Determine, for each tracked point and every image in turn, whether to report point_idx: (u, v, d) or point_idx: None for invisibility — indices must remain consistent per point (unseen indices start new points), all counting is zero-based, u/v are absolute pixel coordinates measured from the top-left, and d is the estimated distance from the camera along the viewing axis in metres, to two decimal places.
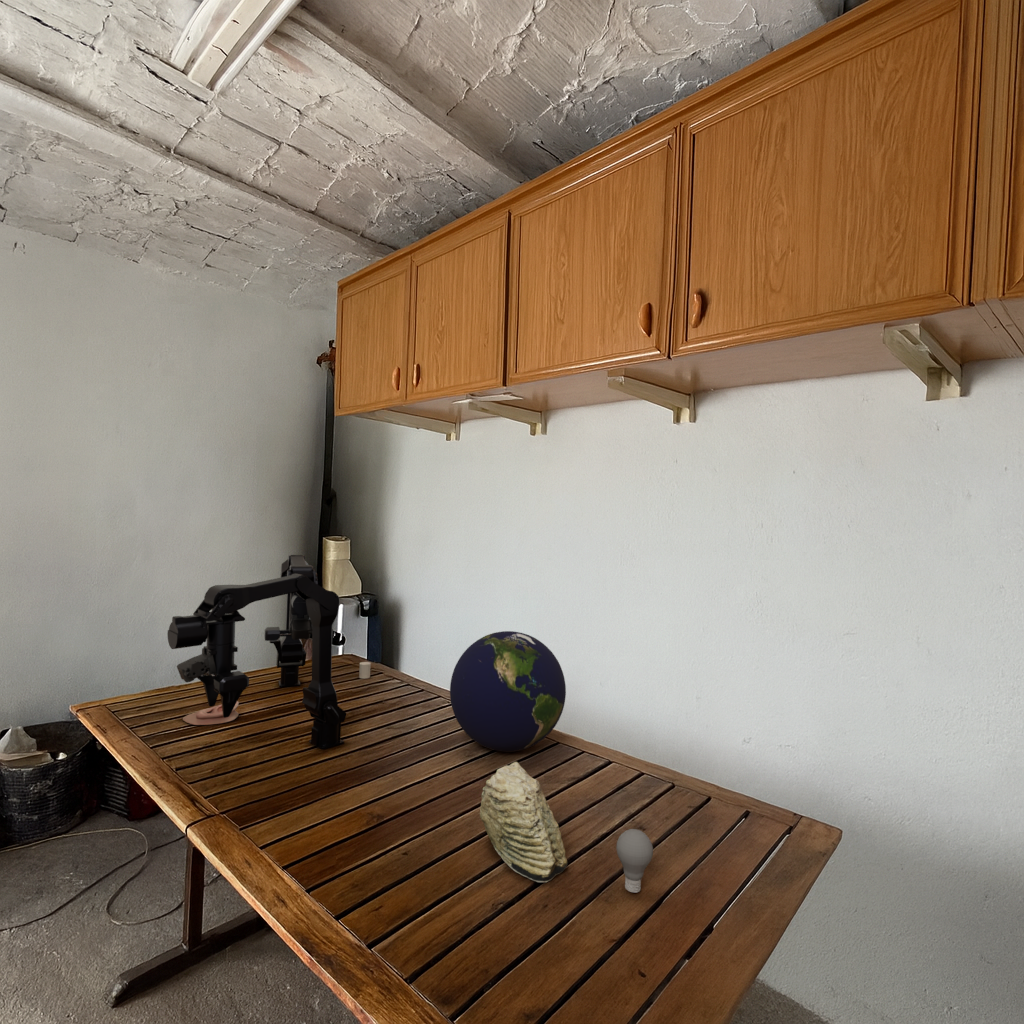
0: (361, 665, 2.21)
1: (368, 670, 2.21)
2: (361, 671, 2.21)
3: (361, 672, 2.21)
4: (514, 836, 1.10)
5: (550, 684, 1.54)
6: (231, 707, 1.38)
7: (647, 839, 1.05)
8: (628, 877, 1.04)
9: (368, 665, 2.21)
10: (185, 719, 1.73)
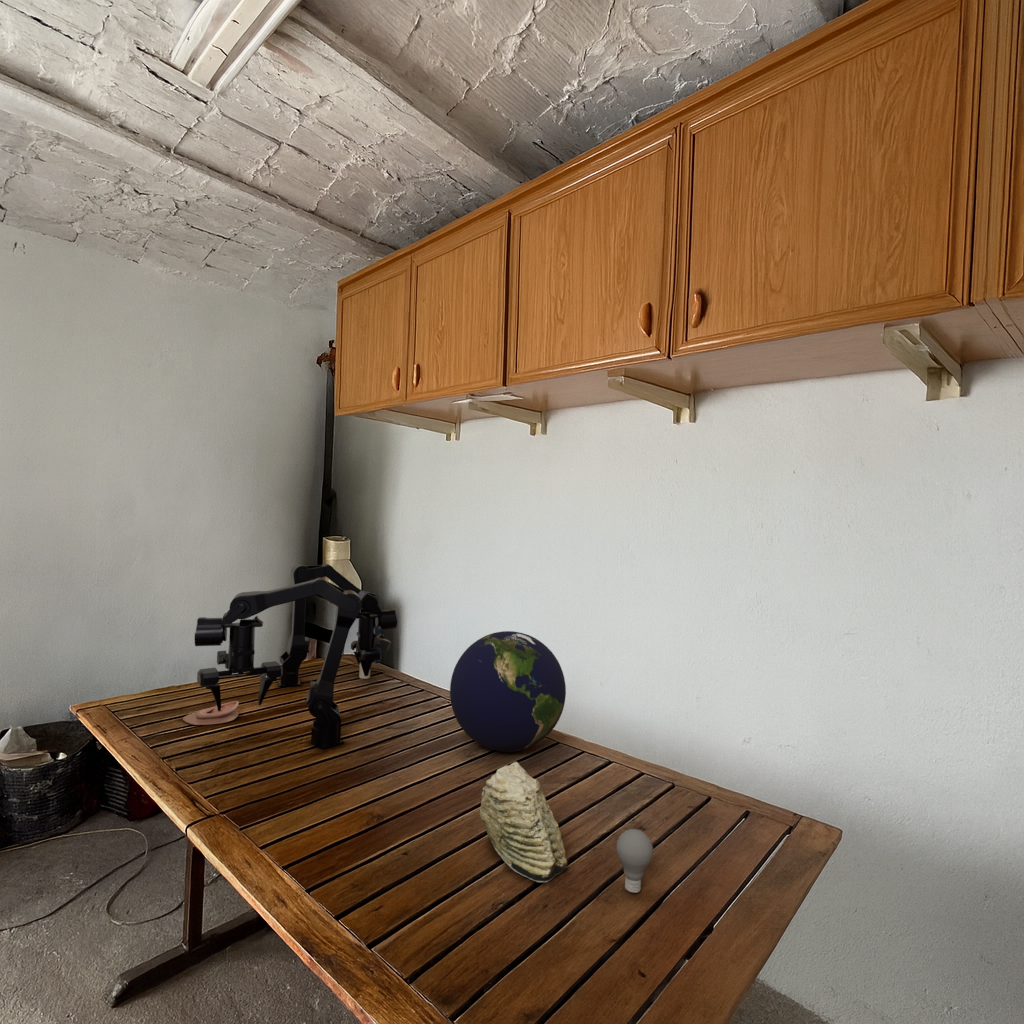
0: None
1: None
2: (361, 671, 2.21)
3: (361, 672, 2.21)
4: (514, 836, 1.10)
5: (550, 684, 1.54)
6: (216, 703, 1.52)
7: (647, 839, 1.05)
8: (628, 877, 1.04)
9: None
10: (185, 719, 1.73)
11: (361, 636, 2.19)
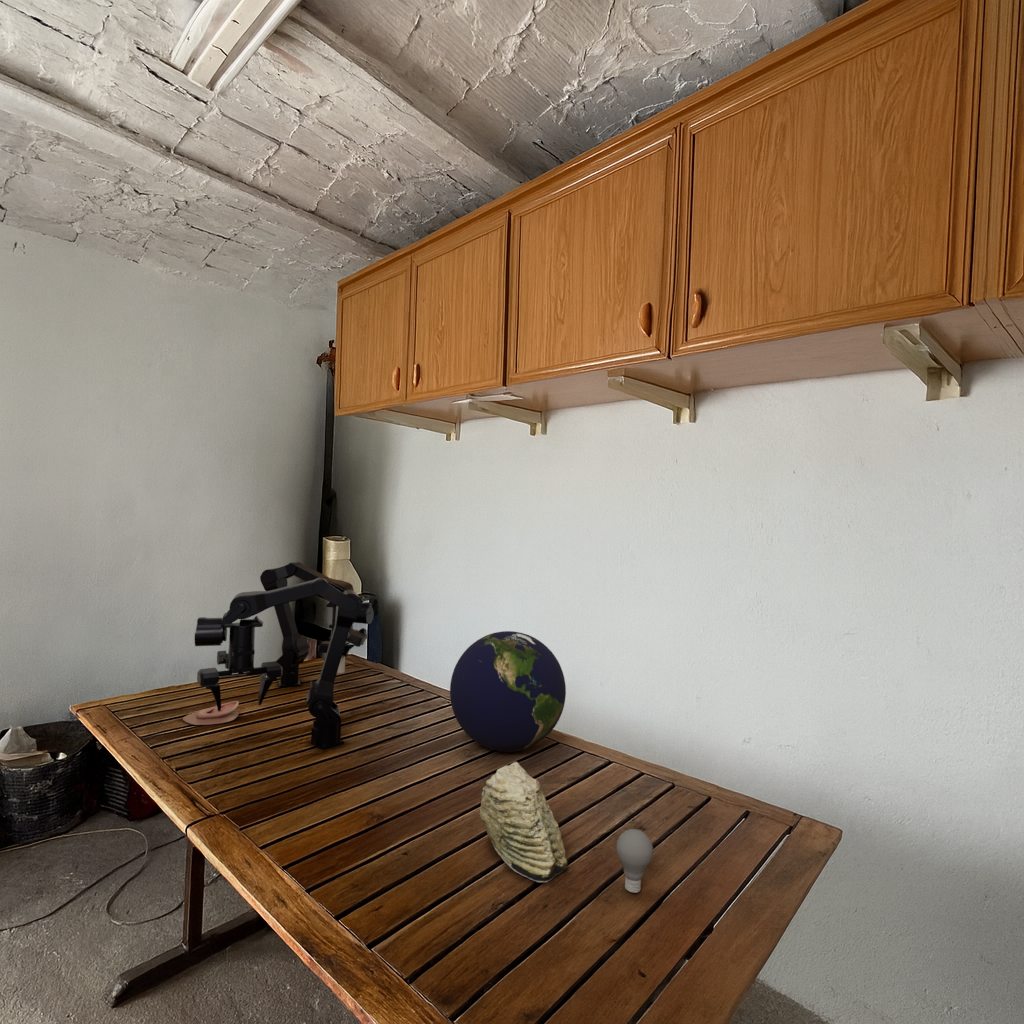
0: None
1: (339, 664, 2.05)
2: None
3: None
4: (514, 836, 1.10)
5: (550, 684, 1.54)
6: (216, 703, 1.52)
7: (647, 839, 1.05)
8: (628, 877, 1.04)
9: None
10: (185, 719, 1.73)
11: (330, 626, 2.05)
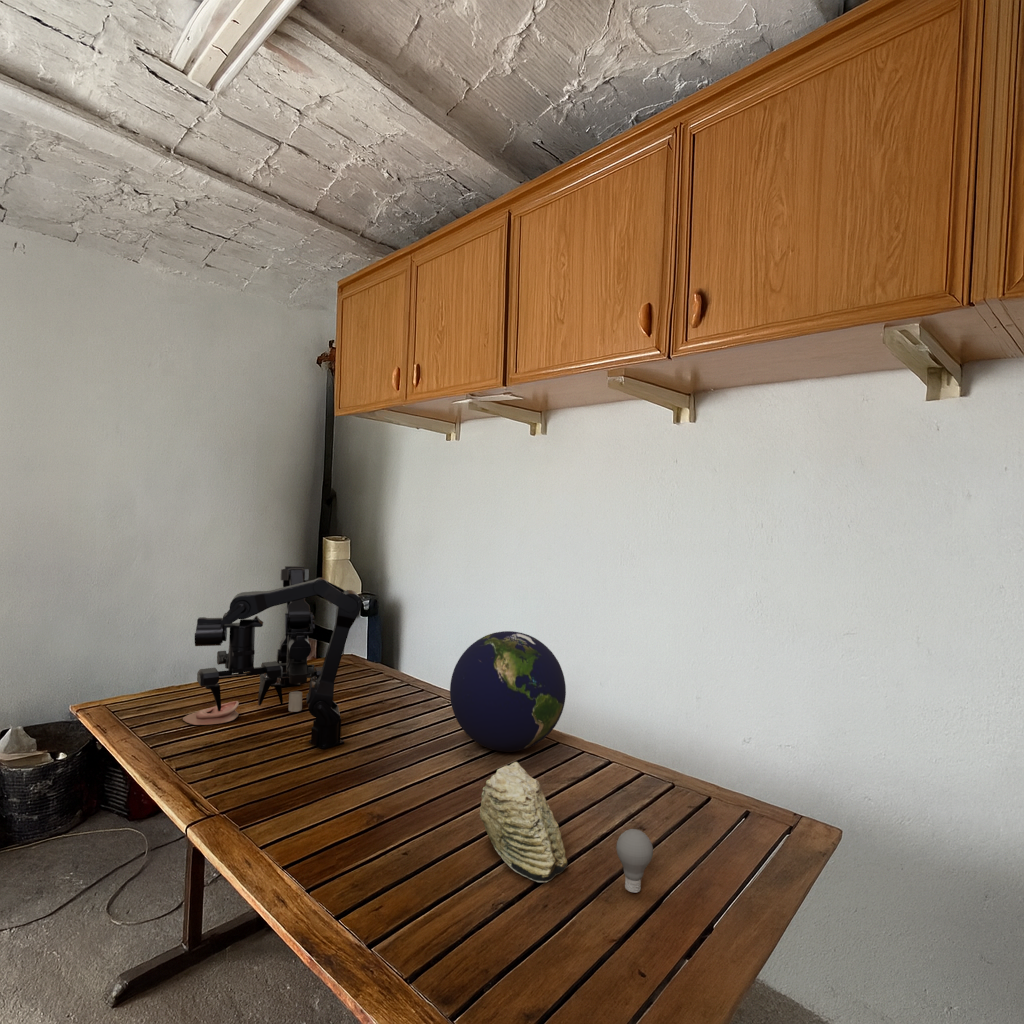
0: None
1: (289, 701, 1.85)
2: None
3: None
4: (514, 836, 1.10)
5: (550, 684, 1.54)
6: (216, 703, 1.52)
7: (647, 839, 1.05)
8: (628, 877, 1.04)
9: (289, 695, 1.85)
10: (185, 719, 1.73)
11: None
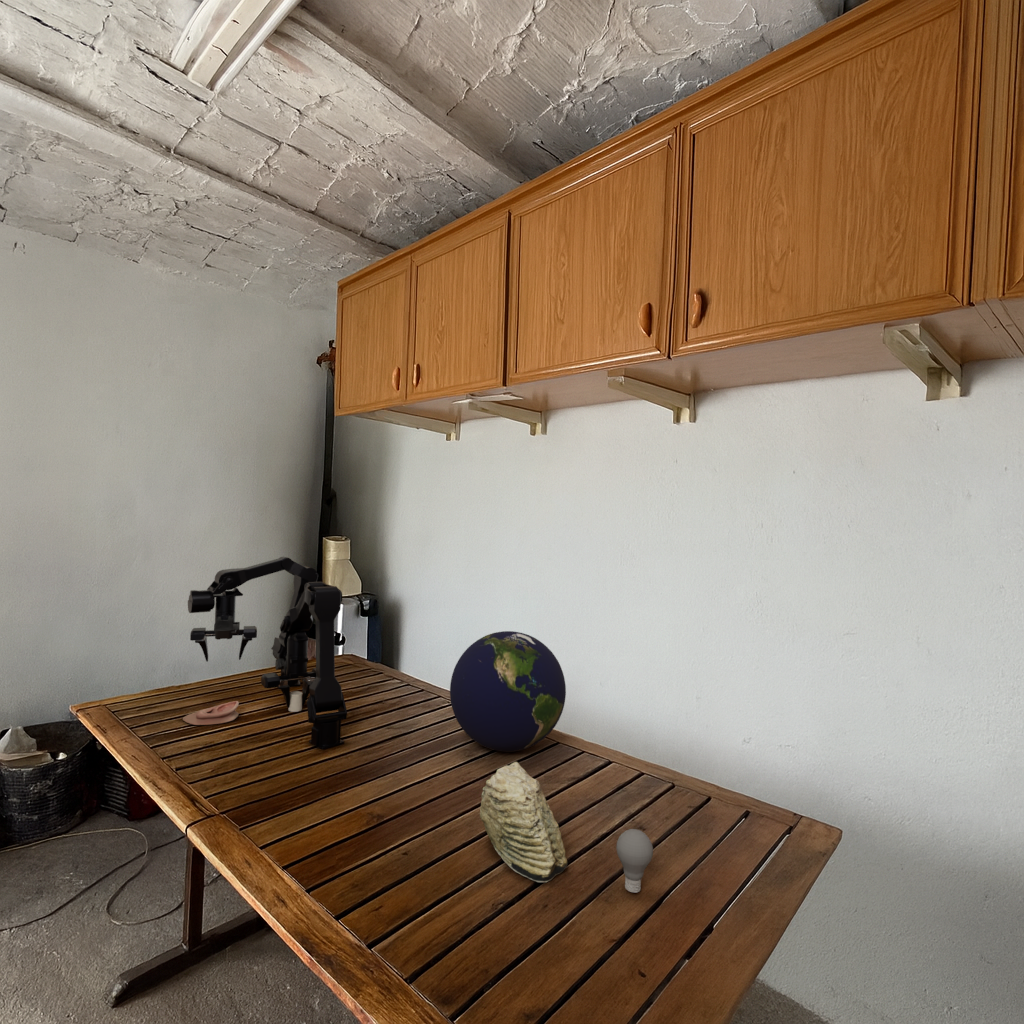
0: None
1: None
2: None
3: None
4: (514, 836, 1.10)
5: (550, 684, 1.54)
6: (286, 701, 1.84)
7: (647, 839, 1.05)
8: (628, 877, 1.04)
9: None
10: (185, 719, 1.73)
11: None
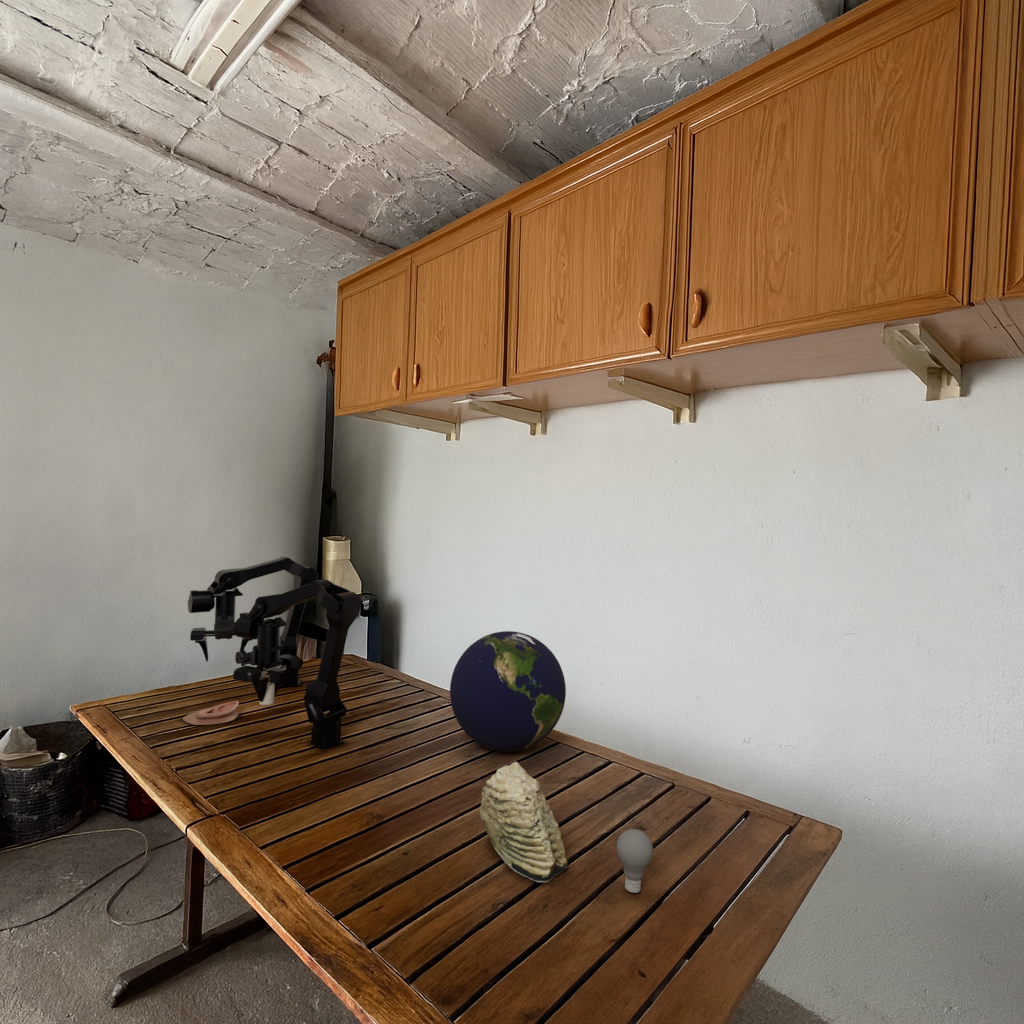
0: None
1: None
2: None
3: None
4: (514, 836, 1.10)
5: (550, 684, 1.54)
6: (261, 694, 1.68)
7: (647, 839, 1.05)
8: (628, 877, 1.04)
9: None
10: (185, 719, 1.73)
11: None
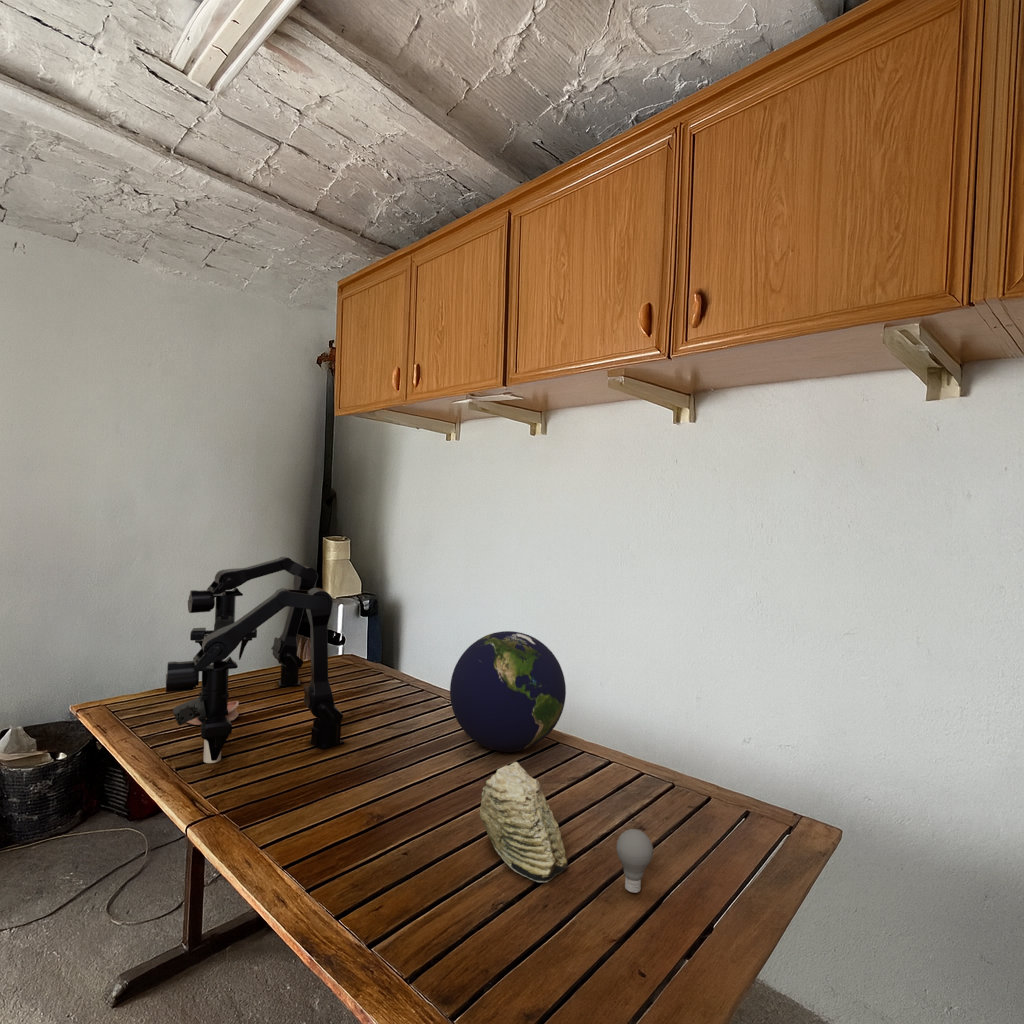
0: (205, 743, 1.48)
1: None
2: (205, 752, 1.48)
3: (205, 754, 1.48)
4: (514, 836, 1.10)
5: (550, 684, 1.54)
6: (218, 751, 1.45)
7: (647, 839, 1.05)
8: (628, 877, 1.04)
9: None
10: None
11: None
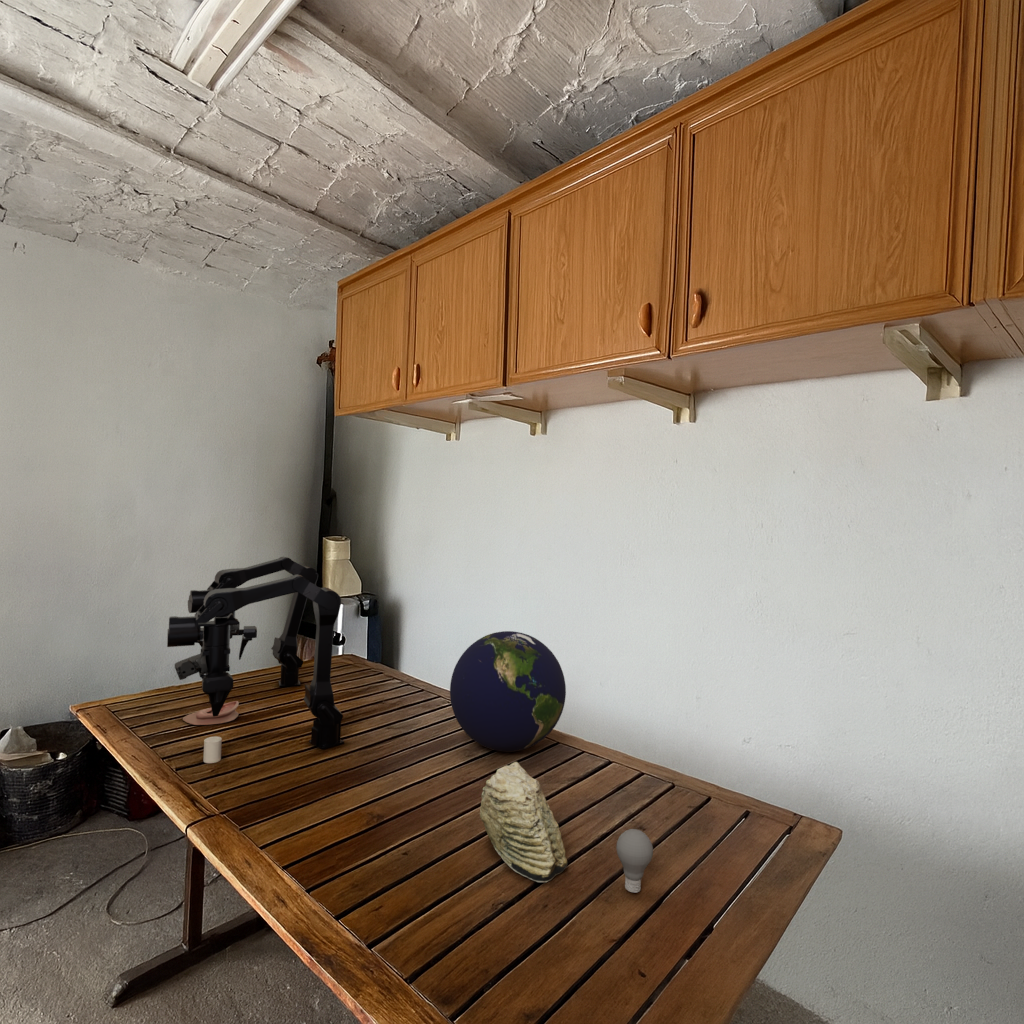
0: (205, 743, 1.48)
1: (215, 750, 1.48)
2: (205, 752, 1.48)
3: (205, 754, 1.48)
4: (514, 836, 1.10)
5: (550, 684, 1.54)
6: (219, 707, 1.45)
7: (647, 839, 1.05)
8: (628, 877, 1.04)
9: (215, 743, 1.48)
10: (185, 719, 1.73)
11: None
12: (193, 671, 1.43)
